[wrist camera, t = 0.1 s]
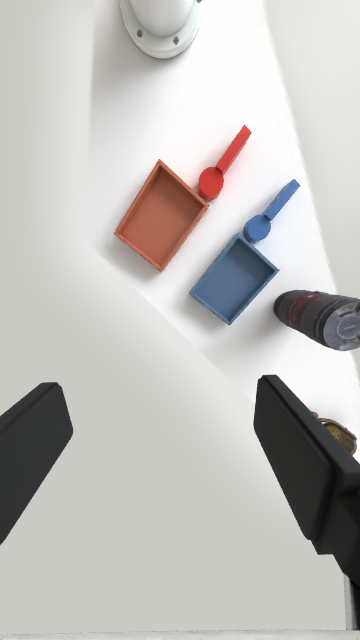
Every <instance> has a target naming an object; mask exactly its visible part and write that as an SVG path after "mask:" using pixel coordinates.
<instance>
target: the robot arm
mask: <svg viewBox="0 0 360 640" xmlns="http://www.w3.org/2000/svg"><path fill="white" fill-rule="evenodd" d="M119 4H120V9H121V13H122V17H123V21H124V24H125V26H126V29H127V31H128V33H129V35H130V36H131V38H132V40H133V41H134V42H135V44H136V45H137V46H138V47H139V48H140V49H141V50H142V51H144V52H145V53H146V54H148V55H150V56H152V57H155V58H161V59H164V58H171V57H174V56H176V55H178V54H179V53H181V52H183V51H184V50H185V49H186V48H187V47H188V46H189V45H190V43H191V42H192V40H193V39H194V37H195V35H196V33H197V31H198V29H199V26H200V23H201V19H202V14H203V8H204V0H119ZM254 430H255V433H256V435H257V437H258V439H259V441H260V443H261V446H262V448H263V450H264V452H265V454H266V456H267V458H268V461H269V463H270V465H271V467H272V469H273V471H274V473H275V476H276V477H277V480H278V482H279V484H280V486H281V488H282V490H283V493H284V495H285V497H286V499H287V501H288V503H289V505H290V507H291V509H292V512H293V514H294V516H295V518H296V520H297V522H298V525H299V527H300V529H301V531H302V533H303V534H304V536H305V537H306V538H307V539H308V540H311V541H312V544H313V546H314V548H315V550H316V552H317V554H318V555H320V554H321V555H324V554H333V555H334V557H335V559H336V561H337V563H338V565H339V567H340V568H341V570H342V572H343V573H344V592H345V615H346V631H344V630H342V631H341V630H220V631H154V632H153V631H152V632H105V633H61V634H59V633H58V634H13V635H0V640H360V464H359V463H358V462H357V461H356V460H355V458H354V457H353V456H352V455H351V454H350V453H349V452H348V451H347V450H346V449H345V448H344V447H343V446H342V445H341V443H340V442H339V441H338V440H337V439H336V438H335V437H334V436H333V435H332V434H331V433H330V432H329V431H328V430H327V428H326V427H325V426H324V425H323V424H322V423H321V422H320V421H319V420H318V419H317V418H316V417H315V416H314V415H313V413H312V412H311V411H310V410H309V409H308V408H307V407H306V406H305V405H304V404H303V403H302V402H301V401H300V400H299V398H298V397H297V396H296V395H295V394H294V393H293V392H292V391H291V390H290V389H289V388H288V387H287V386H286V385H285V383H284V382H283V381H282V380H281V379H280V378H279V377H278V376H277V375H263V376H262V377H261V378H259V379H258V384H257V394H256V404H255V414H254ZM72 434H73V427H72V423H71V420H70V416H69V412H68V409H67V405H66V401H65V398H64V394H63V390H62V387H61V386H59V384H58V383H56V382H47V383H41V384H39V385H38V386H37V387H36V388H35V389H33V390H32V391H31V392H30V393H28V394H27V395H26V396H25V397H23V398H22V399H21V400H20V401H18V402H17V403H16V404H15V405H13V406H12V407H11V408H10V409H9V410H7V411H6V412H5V413H4V414H2V415H1V416H0V545H1V543H3V541H4V540H5V539H6V537H7V536H8V534H9V533H10V531H11V529H12V528H13V526H14V525H15V523H16V522H17V520H18V519H19V517H20V516H21V514H22V512H23V511H24V510H25V508H26V506H27V505H28V503H29V502H30V500H31V499H32V497H33V496H34V494H35V493H36V491H37V490H38V488H39V486H40V485H41V483H42V482H43V480H44V479H45V477H46V476H47V474H48V473H49V471H50V470H51V468H52V466H53V465H54V463H55V462H56V460H57V459H58V457H59V456H60V454H61V453H62V451H63V449H64V448H65V447H66V445H67V443H68V442H69V440H70V439H71V437H72Z"/></svg>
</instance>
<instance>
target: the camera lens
mask: <svg viewBox="0 0 360 640" xmlns="http://www.w3.org/2000/svg"><path fill="white" fill-rule="evenodd" d="M274 313H275V315H276V316H277V317H278V319H279V320H280V321H281V322H283V323H284V324H285V325H287V326H289V327H291V328H293V329H295V330H297V331H299V332H301V333H303V334H305V335H306V336H307V337H309V338H310V339H312V340H314V341H316V342H318V343H320V344H322V345H323V346H326V347H328V348H332V349H335V350H339V351H347V350H352V349H356V348H358V347H360V299H357V298H351V297H346V296H340V295H330V294H328V293H325V292H318V291H315V292H311V291H306V290H294V291H290V292H286V293H283V294H282V295H280V296H279V297H278V298H277V300H276V302H275V304H274Z"/></svg>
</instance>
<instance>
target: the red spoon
mask: <svg viewBox="0 0 360 640" xmlns="http://www.w3.org/2000/svg"><path fill="white" fill-rule="evenodd" d="M250 134H251V131H250V130H249V129H248V128H247V127H246V126H245V125H244V126H243V128H242V129H241V130H240V132H239V133H238V135H237V136H236V138H235V139H234V141H233V142H232V143H231V145H230V146H229V148H228V149H227V151H226V152H225V154H224V155H223V157H222V158H221V159H220V161H219V162H218V164H217V165H216V168H215V167H209V168H207V169H205V170H204V171H203V172H202V173H201V175H200V178H199V183H198V192H199V194H200V196H201V197H202V198H203V199H205V200H213V199H215V198H216V197H217V196H218V195H219V193H220V191H221V189H222V187H223V183H224V179H223V175H224V173H225V172H226V171H227V169H228V168H229V166H230V165H231V164H232V162H233V161H234V159H235V158H236V157H237V155H238V154H239V152H240V151H241V149H242V148H243V147H244V145H245V144H246V142H247V140H248V138H249V136H250Z"/></svg>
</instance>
